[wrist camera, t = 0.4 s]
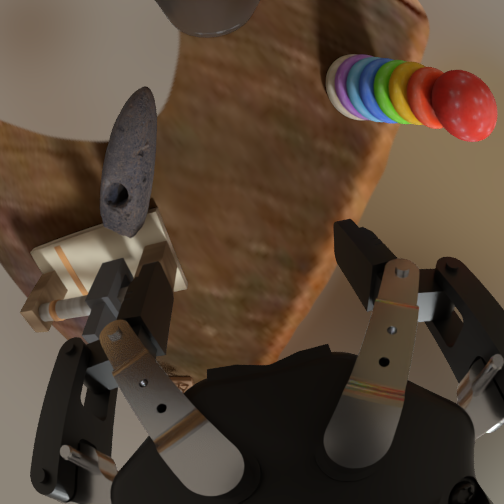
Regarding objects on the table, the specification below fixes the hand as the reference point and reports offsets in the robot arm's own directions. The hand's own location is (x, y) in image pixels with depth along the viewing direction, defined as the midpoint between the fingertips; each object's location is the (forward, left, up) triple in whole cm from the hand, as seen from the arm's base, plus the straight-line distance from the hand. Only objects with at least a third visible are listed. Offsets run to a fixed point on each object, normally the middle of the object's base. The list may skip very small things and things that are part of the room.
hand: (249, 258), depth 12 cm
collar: (+10, -15, -15) cm, 24 cm away
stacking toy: (-6, +15, -20) cm, 26 cm away
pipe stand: (+10, -21, -20) cm, 30 cm away
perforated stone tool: (-3, -10, -20) cm, 22 cm away
